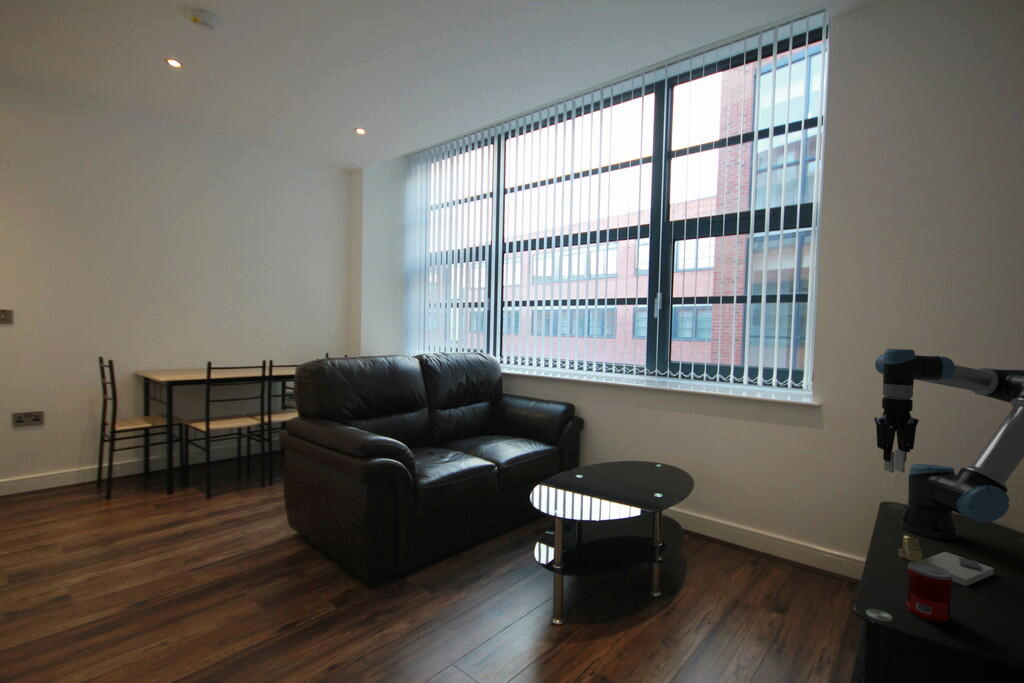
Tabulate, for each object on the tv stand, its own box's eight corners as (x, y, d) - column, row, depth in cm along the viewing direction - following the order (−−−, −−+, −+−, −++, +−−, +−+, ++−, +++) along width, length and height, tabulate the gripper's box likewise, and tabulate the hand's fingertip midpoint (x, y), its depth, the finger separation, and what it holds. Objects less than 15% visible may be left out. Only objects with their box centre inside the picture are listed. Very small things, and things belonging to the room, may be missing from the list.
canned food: (958, 625, 110) (960, 579, 110) (918, 620, 112) (920, 574, 112) (936, 607, 118) (937, 563, 118) (899, 602, 119) (901, 559, 119)
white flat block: (944, 557, 145) (945, 549, 145) (993, 574, 135) (993, 565, 135) (917, 567, 138) (917, 558, 138) (966, 586, 128) (966, 576, 128)
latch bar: (901, 549, 147) (902, 533, 147) (916, 552, 145) (917, 536, 145) (906, 564, 138) (907, 547, 138) (922, 567, 136) (923, 550, 136)
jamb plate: (898, 551, 148) (898, 548, 148) (919, 556, 146) (919, 553, 146) (900, 557, 144) (900, 554, 144) (921, 562, 141) (922, 559, 141)
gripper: (884, 399, 146) (881, 474, 146) (931, 399, 147) (928, 474, 148) (864, 395, 153) (861, 467, 154) (909, 396, 155) (906, 467, 155)
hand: (894, 471), depth 151 cm, fingers open, 3 cm apart
